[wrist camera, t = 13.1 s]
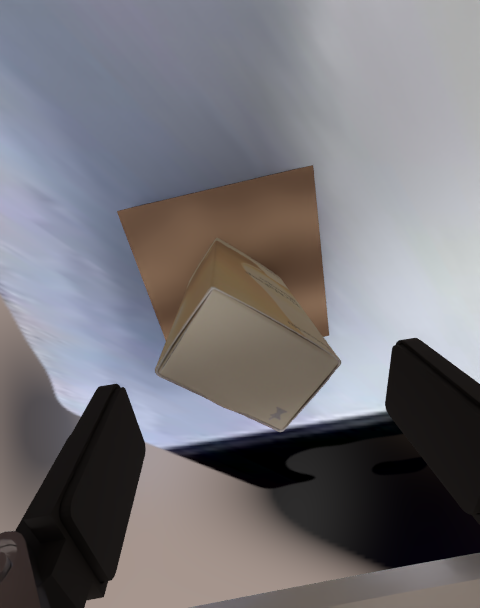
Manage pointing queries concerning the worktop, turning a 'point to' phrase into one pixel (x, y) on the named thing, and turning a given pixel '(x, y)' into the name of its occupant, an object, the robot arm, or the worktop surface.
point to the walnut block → (232, 238)
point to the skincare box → (245, 341)
